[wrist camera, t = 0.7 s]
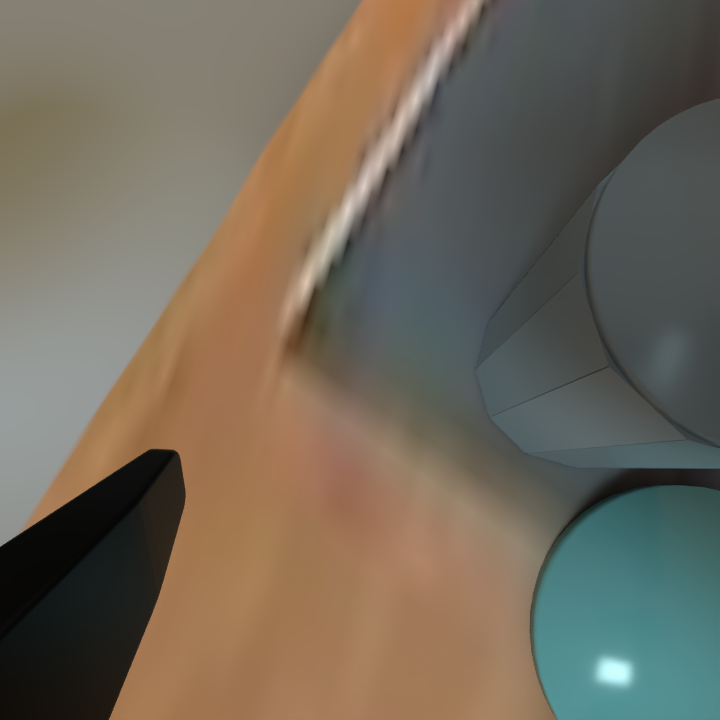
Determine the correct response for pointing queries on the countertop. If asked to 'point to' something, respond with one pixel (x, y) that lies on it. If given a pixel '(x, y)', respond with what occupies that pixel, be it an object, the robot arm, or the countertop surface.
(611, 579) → the dish
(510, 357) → the grey faceted cylinder
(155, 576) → the robot arm
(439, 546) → the countertop surface
